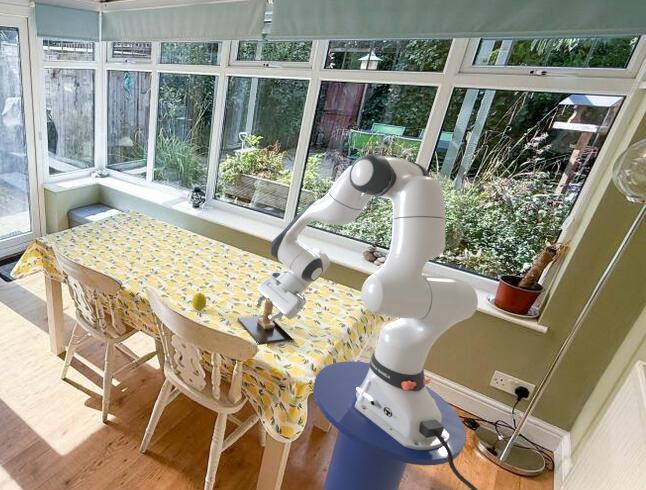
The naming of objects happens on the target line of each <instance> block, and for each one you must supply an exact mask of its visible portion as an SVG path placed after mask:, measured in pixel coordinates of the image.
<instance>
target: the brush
mask: <svg viewBox="0 0 646 490" xmlns="http://www.w3.org/2000/svg"><path fill="white" fill-rule="evenodd" d="M272 302H273V301H271V300H270V299H269V298H266V299H265V304H264V308H263V314H262V315H263V318H258V323H257V325H258V326H259V327H260V328H261V329H262V330H263V331H264V332H265V331H273V330H274V327H275V324H274V323H273V322H272V321H270V320H269V319H268V316H269V315H270V314H272V315H273V309H274V306H273V304H272Z"/></svg>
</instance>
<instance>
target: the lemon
mask: <svg viewBox="0 0 646 490" xmlns="http://www.w3.org/2000/svg"><path fill="white" fill-rule="evenodd" d="M191 304H192V307H193V309H195V310H197V311H201V310H203V309H205V308H206V305H207V297H206V296H205V294H203V293H202V292H197V293H195V294H194V295H193V296H192V299H191Z"/></svg>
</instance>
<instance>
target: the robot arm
mask: <svg viewBox="0 0 646 490" xmlns="http://www.w3.org/2000/svg"><path fill="white" fill-rule="evenodd" d="M375 196H376V197H380V198H382V199H388V200H390V201H391V203H392V229H391V230H392V232H391V233H392V234H391V245H390V250H389V253H388V256H387V258H386V259H385V261H384V263H383V264H382V266H381V267H380V268H379V269H378V270H377V271H376V272H374V273H373V274H371V275H370V276H368V277H367V278H366V279H365V281H364V282H363V284H362V287H361V290H360V292H361V293H360V295H361V299H362V300H361V301H362V303H363V305H364V307H365V308H366V309H367V310H368V311H369V312H371V313H373V314H377V315H380V316H383V317H387V318H396V320H395V321H392V322H390V323H387V324H386V325H384V326H383V327H382V328H381V330H380V333H379V335H378V339H377V343H376V345H375V350H374V351H373V352H372V354H371V357H370V359H369V363H370V368H369V371H368V373H367V376H366V378H365V380H364V381H363V383H362V385H361V386H360V387H359V388H358V387H357V389H356V390H357V392H356V397H357V401H356V403H355V408H356V409H357V410H359V411H360V412H361V413H362V414H364V415H365V416H366V417H367V418H369V419H370V420H371V421H373V422H374V423H375V424H376V425H378V426H379V427H380V428H381V429H383V430H384V431H385V432H387V433H388V434H389V435H390V436H392V437H393V438H394V439H395V440H397V441H398V442H399V443H401V444H402V445H403V446H405V447H407V448H411V449H416V450H429V449H435V448H438V447H441V446H444V448H445V450H446V452H447V455H448V462H447V463H448V465H449V467H450V469H451V471H452V472H453V474H454V475H455V477H456V478H457V479H459V481H461V483H463V484H464V485H465V486H466V487H468V488H469V489H470V490H479V489H478V488H477V487H475V485H473V484H472V483H471V482H470V481H469V480H468V479H466V478H465V477H464V476H463V475H462V474H461V473H460V472H459V471H458V469H457V467H456V466H455V463H454V459H453V456H452V453H451V451H450V449H449V447H448V445H447V442H448V440H449V436H450V435H449V434H448V432H447V431H446V430H445V429H444V426H443V425H442V424H441V422H442V415H441V412H440V410H439V409H438V407H437V406H436V402H435V400H434V399H433V398H432V397H431V396H430V394H429V392H428V391H427V389H426V387H425V386H426V385H427V384H430V383H431V382H430V381H432V379H431V378H427V379H425V378H426V377H425V369H424V365H425V363H426V361H427V358H428V355H429V353H430V351H431V349H432V346H433V345H434V344H435V342H436V341H437V340H438V339H439V338H440V337H441V336H442V335H443V334H444V333H445V332H446V331H447V330H448V329H450V328H451V327H453V326H455V325H456V324H458V323H460V322H462V321H465V320H467V319H470V318H471V317H472V316H473V315H474V314H475V313H476V311H477V309H478V304H479V299H478V294H477V292H476V290H475V288H474V287H473V286H472V285H471V284H470V283H469V282H467V281H464V280H461V279H457V278H453V277H449V276H440V275H424V274H423V270H424V267H425V265H426V264H427V263H428V262H429V261H431V260H434V259H436V258H438V257H439V256H440V255H442V254H443V252H444V251H445V249H446V220H447V219H446V205H445V204H446V203H445V197H444V192H443V188H442V185H441V183H440V182H439V181H438V180H437V179H436V178H434V177H431V175H430V173H429V171H428V170H427V169H426V168H425V167H424V166H422V165H421V164H419V163H416V162H412V161H408V160H405V159H401V158H400V157H395V156H389V155H381V154H377V153H375V154H374V153H373V154H372V153H371V154H365V155H362V156H360V157H359V158H357V159H356V160H355V161H354V162H353V164H352V165H350V166H348V167H347V168H346V169H345V170H344V171H343V172H342V174H340V176H339V177H338V178H337V180H336V181H334V183H333V185H332V186H331V187H330V188H329V191H328V192H327V194H325V195H324V196H323V197H322V198H320V199H319V198H315V199H313V200H311V201H310V202H308V203H307V204H306V205H305V206H304V207H303V208H302V209H301V210H300V211H299V212H298V213H297V214H296V216H295V217H294V218H293V219H292V221H291V222H289V224H288V225H287V226H286V227H285V228H284V229H283V230H282V231H281V232H280V233H279V234H278V235H277V236H276V237H275V238H274V239H273V240H272V242H271V243H270V247H269V248H270V255H271V256H272V258H274V259H276V260H277V261H278V262H280V263H282V264H283V265H284V266H285V268H287V269H288V271H287V272H285V273H284V272H279V271H275V270H274V271H272V272H271V273H270V276H267V277H266V278H265V279H264V280H262V282H260V283H259V284H258V285H257V288H256V291H257V292H258V293H259V295H258V296H257V299H256V301H255V302H254V306H255V307H256V308H257V309H259V308H261V307H262V303H263V301H266V298H269V299H270V300H271V301H273V302H272V304H273V307H274V308H275V309H276V311H275V313H272V314H270V315H269V316H268V319H269V320H270V321H275V320H276V319H280V318H282V317H285V318H286V319H287V320H292V319H294V318H295V317H296V316H297V315H298V313H300V311H301V310H302V309H303V307H304V306H305V305H306V303H307V298H306V297H305V296H303V295H302V294H304V292H305V291H307V289H308V288H309V286H310V285H311V284H312V283H315V282H316V281H318V280H319V278H320V277H321V276H322V275H323V274H324V273H325V272H326V271H327V269H328V268H329V266H330V265H331V260H330V258H329V257H328V255H327V254H326V253H325V252H324V251H323V250H321V249H320V248H313V249H310V248H309V247H307V246H306V245H305V244H304V243H303V242H301V240H299V237H298V236H299V235H300V234H301V233H302V232H303V231H304V229H305V228H307V226H308V225H309V224H310V223H311V222H312V221H315V222H319V223H324V224H327V225H333V226H345V225H348V224H351V223H353V222H354V221H355V220H356V219H357V218H358V217H359V215H360V214H362V212H363V210H364V209H365V207H366V206H367V204H368V203H369V201H370V200H371V199H372V198H374V197H375Z"/></svg>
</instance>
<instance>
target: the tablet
mask: <svg viewBox="0 0 646 490" xmlns="http://www.w3.org/2000/svg"><path fill="white" fill-rule="evenodd" d="M258 318H263V314H260V315H252V316H244V317H237V321H238V322H239V323H240V325H241V326H242V327H243V328H244V330H245V331H246V332H247V333H248V334H249V336H250V337H251V338H252V339H253V340H254V341H255V343H257V342H258V343H259V345H258V346H261V345H268V344H277V343H284V342H289V341H295V339H294V338H293V337H291V335H290V334H288V332H287V331H286V330H285V329H283V327H282V326H280V325H279V324H278V323H277V322H276V321H275V320H274V321H272V322H273V323H274V324H275V327H274V330H273V331H265V332H264V331H263V330H262V329H261V328H260V327H259V326H258V325H257V323H258Z"/></svg>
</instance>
